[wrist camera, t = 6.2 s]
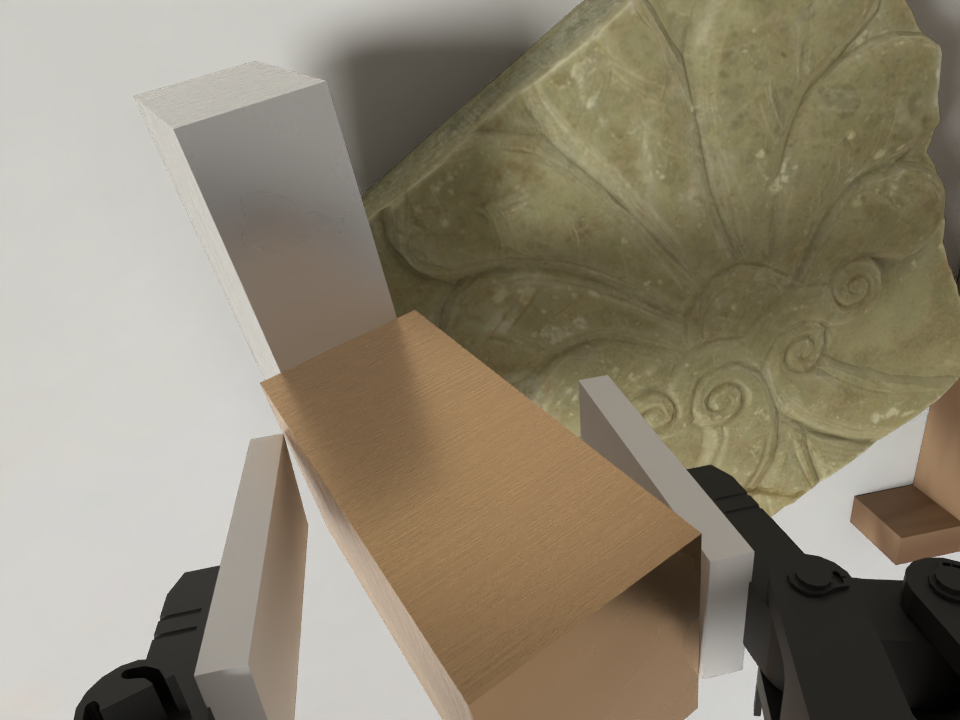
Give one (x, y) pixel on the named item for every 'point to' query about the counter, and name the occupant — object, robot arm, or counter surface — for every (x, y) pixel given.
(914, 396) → the decorative tile
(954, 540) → the brown wooden bar
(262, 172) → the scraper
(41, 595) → the counter surface
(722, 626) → the robot arm
